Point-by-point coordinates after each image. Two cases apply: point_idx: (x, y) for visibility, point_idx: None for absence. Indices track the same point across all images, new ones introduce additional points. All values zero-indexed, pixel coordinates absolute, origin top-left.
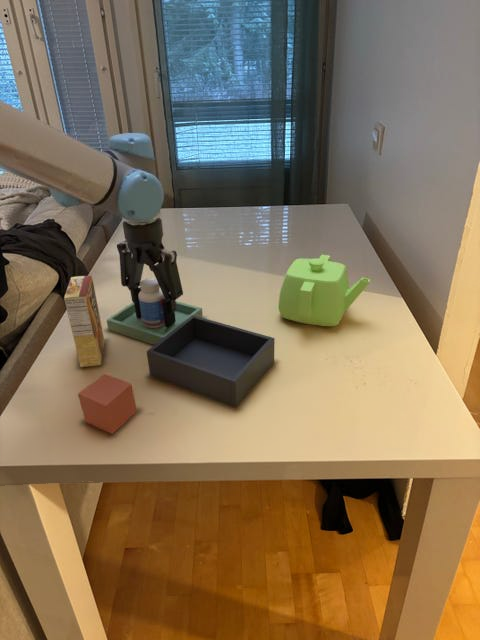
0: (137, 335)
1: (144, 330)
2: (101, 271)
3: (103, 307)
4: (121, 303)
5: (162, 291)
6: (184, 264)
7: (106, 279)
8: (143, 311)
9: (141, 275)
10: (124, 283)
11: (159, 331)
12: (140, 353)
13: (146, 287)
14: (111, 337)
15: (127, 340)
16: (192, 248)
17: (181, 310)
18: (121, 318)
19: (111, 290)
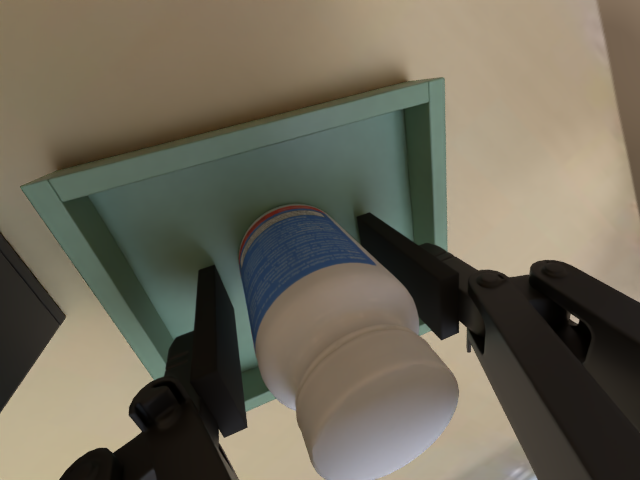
0: (240, 125)
1: (197, 152)
2: (637, 278)
3: (528, 172)
4: (493, 232)
5: (208, 450)
6: (476, 444)
7: (606, 268)
8: (308, 233)
9: (507, 414)
10: (551, 278)
11: (212, 228)
12: (103, 43)
13: (348, 382)
14: (351, 45)
15: (272, 83)
16: (505, 475)
17: None
18: (414, 162)
19: (563, 249)
